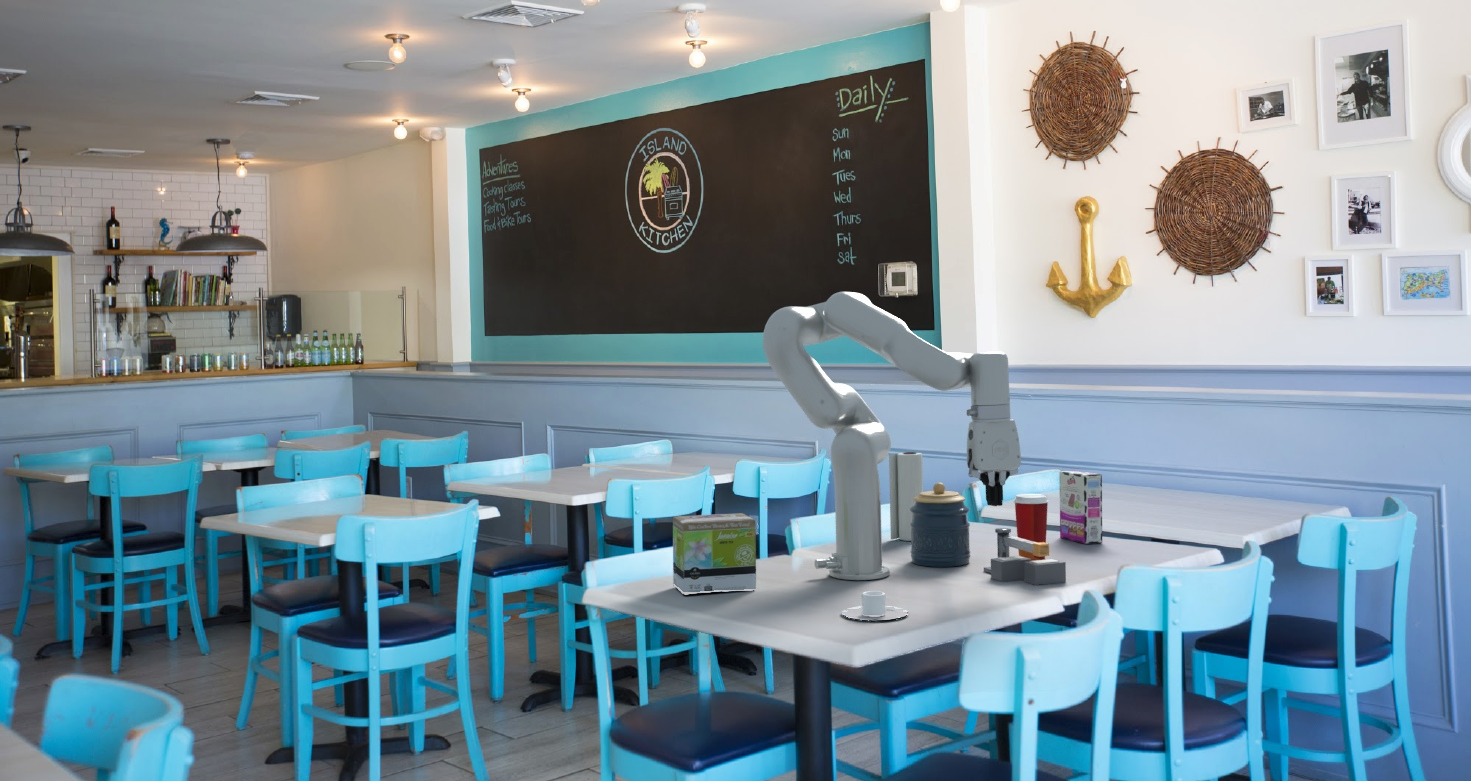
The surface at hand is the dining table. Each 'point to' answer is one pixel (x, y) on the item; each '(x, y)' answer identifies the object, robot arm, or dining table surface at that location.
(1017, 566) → the block
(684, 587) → the tea box
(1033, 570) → the block
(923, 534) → the canister
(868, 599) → the candle holder
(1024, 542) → the swing arm
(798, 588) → the dining table surface
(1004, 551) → the pivot post
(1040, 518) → the paper cup
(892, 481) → the paper towel roll
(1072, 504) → the candy bar box
